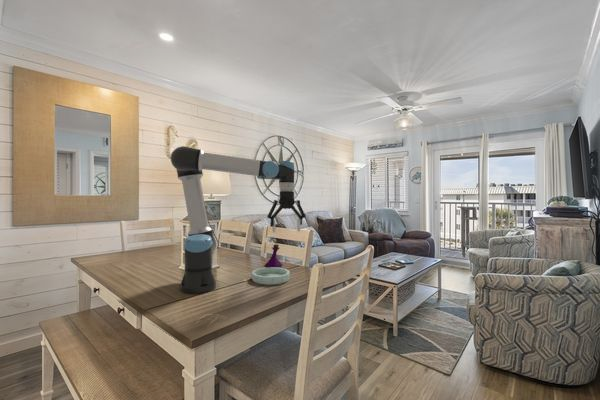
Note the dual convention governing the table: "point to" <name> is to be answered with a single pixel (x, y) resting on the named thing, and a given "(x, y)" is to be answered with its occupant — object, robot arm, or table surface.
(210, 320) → the table surface
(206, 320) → the table surface
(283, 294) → the table surface
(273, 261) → the perfume bottle
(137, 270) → the table surface
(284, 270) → the round tray
